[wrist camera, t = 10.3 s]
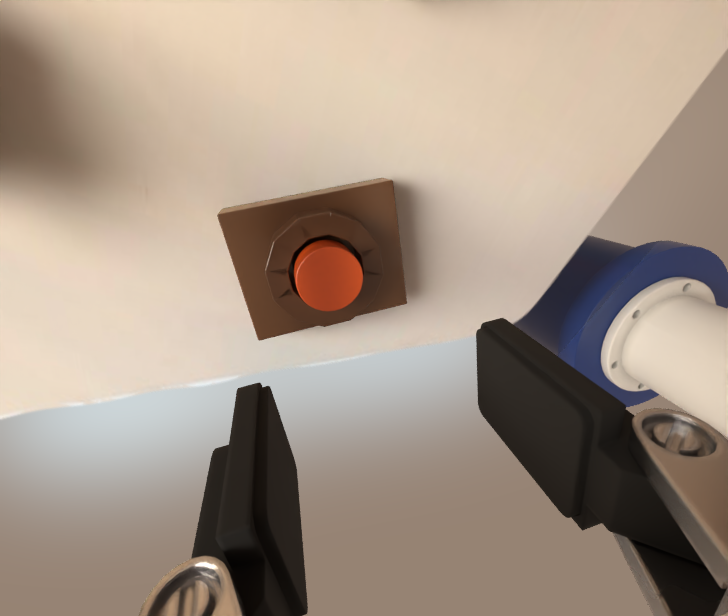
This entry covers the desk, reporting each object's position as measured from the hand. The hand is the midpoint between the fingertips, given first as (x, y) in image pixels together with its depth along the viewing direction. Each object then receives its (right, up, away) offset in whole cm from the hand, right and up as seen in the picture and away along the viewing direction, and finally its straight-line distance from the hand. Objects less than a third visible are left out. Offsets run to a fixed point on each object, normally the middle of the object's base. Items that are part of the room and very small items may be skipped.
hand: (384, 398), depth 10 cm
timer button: (-3, +5, +11) cm, 12 cm away
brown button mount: (-4, +6, +14) cm, 16 cm away
